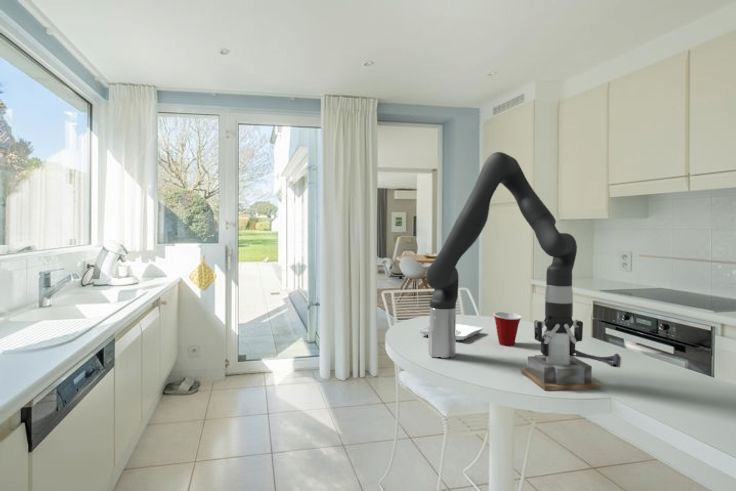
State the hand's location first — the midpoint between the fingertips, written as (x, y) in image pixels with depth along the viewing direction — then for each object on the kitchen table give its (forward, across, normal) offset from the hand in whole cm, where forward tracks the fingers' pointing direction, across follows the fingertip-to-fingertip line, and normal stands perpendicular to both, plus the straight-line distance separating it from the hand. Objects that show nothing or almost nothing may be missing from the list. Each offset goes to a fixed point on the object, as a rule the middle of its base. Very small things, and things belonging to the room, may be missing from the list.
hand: (558, 355), depth 130 cm
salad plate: (+8, -17, +59) cm, 62 cm away
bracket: (+8, +24, +21) cm, 33 cm away
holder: (+7, 0, 0) cm, 7 cm away
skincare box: (+5, 0, 0) cm, 5 cm away
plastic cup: (+8, +1, +42) cm, 43 cm away
